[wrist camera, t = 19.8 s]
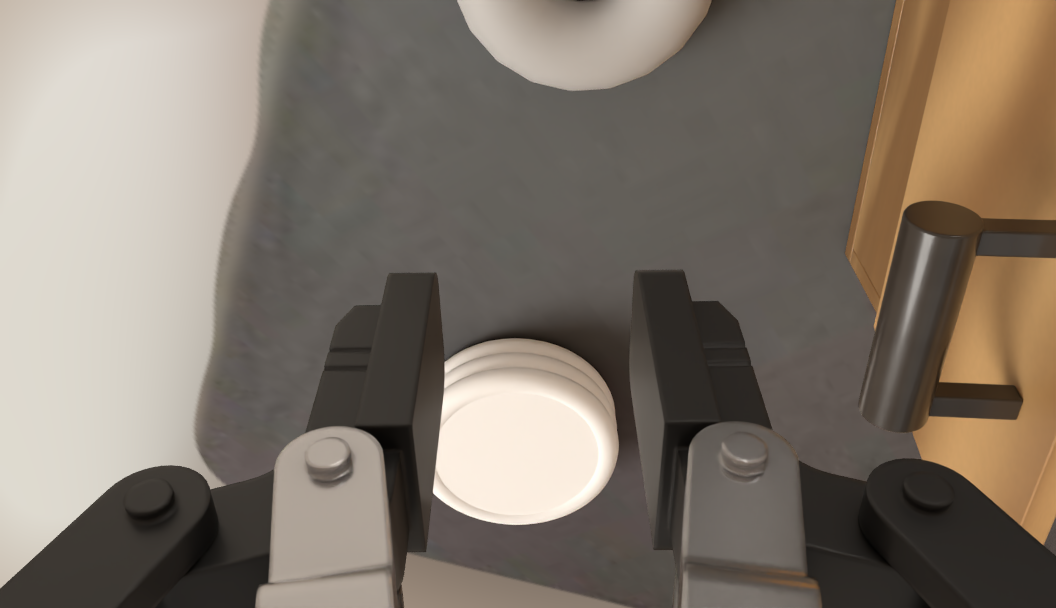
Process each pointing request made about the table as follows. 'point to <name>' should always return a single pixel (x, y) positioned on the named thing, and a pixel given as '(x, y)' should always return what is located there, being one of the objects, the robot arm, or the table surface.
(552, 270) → the table surface
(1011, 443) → the lid
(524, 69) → the donut
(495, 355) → the coaster
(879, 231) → the wooden box
